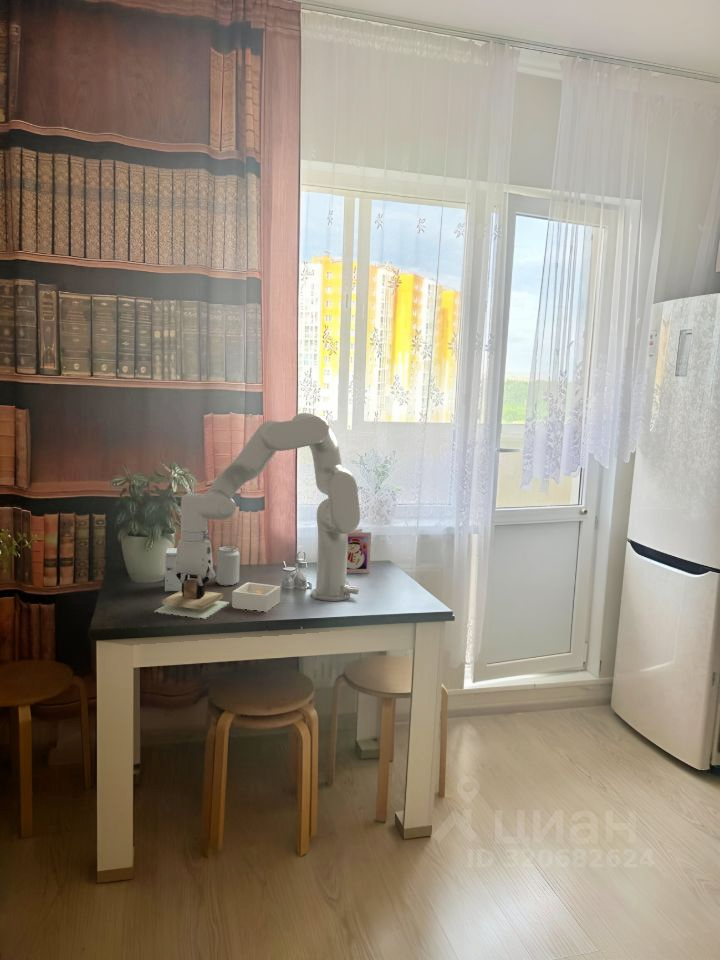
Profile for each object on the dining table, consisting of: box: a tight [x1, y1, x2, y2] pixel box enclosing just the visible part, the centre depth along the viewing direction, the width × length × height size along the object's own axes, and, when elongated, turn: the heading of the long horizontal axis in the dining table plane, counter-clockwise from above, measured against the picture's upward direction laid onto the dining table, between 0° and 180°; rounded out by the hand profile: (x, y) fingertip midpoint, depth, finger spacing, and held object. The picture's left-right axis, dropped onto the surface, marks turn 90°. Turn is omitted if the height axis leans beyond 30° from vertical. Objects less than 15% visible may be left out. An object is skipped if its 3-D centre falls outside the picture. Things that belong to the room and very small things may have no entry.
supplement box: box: [164, 547, 190, 592], centre depth 235 cm, size 7×7×13 cm
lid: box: [161, 578, 224, 610], centre depth 216 cm, size 13×13×6 cm
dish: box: [231, 581, 282, 613], centre depth 222 cm, size 11×11×5 cm
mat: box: [154, 600, 230, 620], centre depth 217 cm, size 16×16×1 cm
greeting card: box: [346, 528, 372, 574], centre depth 266 cm, size 11×7×15 cm, turn 101°
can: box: [215, 546, 241, 587], centre depth 243 cm, size 8×8×12 cm
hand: (193, 596), depth 216 cm, fingers closed on lid, 4 cm apart
